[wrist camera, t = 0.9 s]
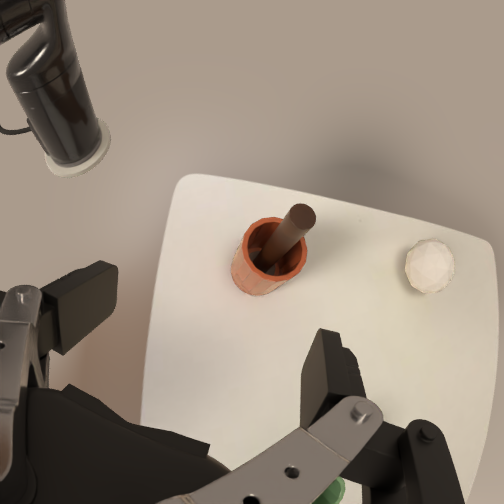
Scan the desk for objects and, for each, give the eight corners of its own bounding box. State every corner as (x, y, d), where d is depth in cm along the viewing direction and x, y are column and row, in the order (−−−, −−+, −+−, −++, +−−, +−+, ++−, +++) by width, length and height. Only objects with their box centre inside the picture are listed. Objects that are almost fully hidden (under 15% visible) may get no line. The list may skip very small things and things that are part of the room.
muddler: (238, 280, 35) (272, 234, 20) (245, 250, 36) (280, 186, 21) (270, 287, 36) (325, 247, 20) (275, 257, 37) (329, 200, 22)
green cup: (262, 485, 29) (281, 519, 20) (271, 444, 31) (295, 472, 22) (307, 485, 29) (336, 515, 21) (318, 446, 31) (351, 470, 23)
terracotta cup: (226, 289, 35) (236, 272, 27) (236, 240, 37) (249, 210, 29) (276, 300, 36) (302, 287, 27) (285, 252, 38) (310, 226, 29)
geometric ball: (399, 286, 43) (403, 292, 35) (407, 236, 42) (413, 231, 35) (442, 294, 40) (454, 301, 32) (451, 244, 39) (464, 241, 32)
